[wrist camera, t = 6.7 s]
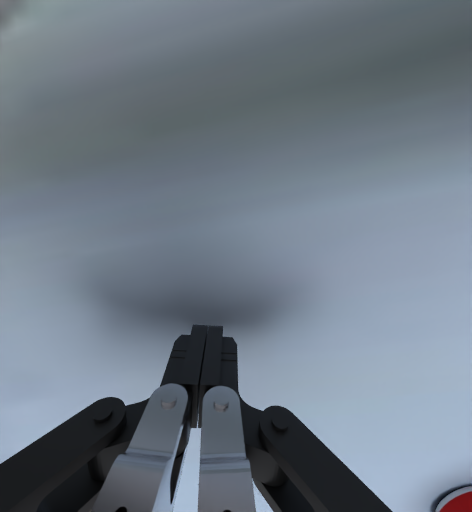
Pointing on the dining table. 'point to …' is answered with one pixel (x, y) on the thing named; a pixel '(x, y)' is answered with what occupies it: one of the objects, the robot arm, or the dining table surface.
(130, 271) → the dining table surface
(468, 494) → the beverage can
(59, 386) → the dining table surface
